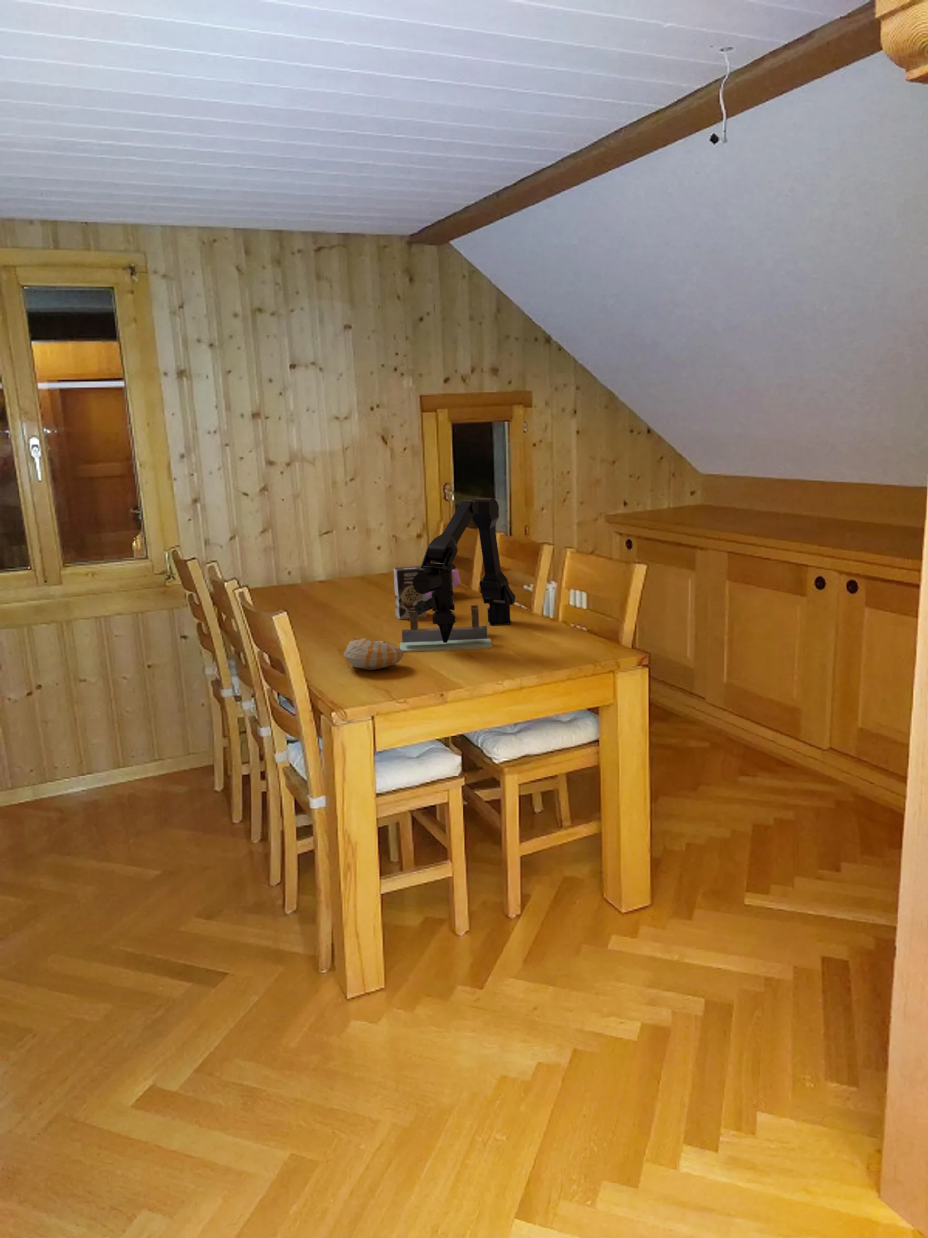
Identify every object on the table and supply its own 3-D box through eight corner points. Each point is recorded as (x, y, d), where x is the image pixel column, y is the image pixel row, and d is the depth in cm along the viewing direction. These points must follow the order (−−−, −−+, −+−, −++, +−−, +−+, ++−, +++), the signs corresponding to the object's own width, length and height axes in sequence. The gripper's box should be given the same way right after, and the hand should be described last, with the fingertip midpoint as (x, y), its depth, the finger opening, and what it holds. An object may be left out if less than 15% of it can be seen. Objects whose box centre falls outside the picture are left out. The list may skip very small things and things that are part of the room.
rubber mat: (490, 640, 270) (490, 638, 270) (491, 648, 262) (491, 646, 261) (400, 644, 270) (400, 642, 270) (398, 652, 261) (398, 650, 261)
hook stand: (481, 631, 280) (480, 603, 278) (483, 638, 273) (481, 609, 271) (408, 634, 280) (407, 607, 278) (407, 641, 272) (406, 613, 270)
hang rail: (486, 636, 267) (486, 625, 266) (487, 638, 264) (487, 628, 263) (402, 639, 267) (402, 629, 266) (402, 642, 264) (401, 632, 263)
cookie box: (399, 620, 299) (396, 570, 296) (395, 615, 305) (392, 567, 302) (427, 617, 302) (424, 568, 298) (422, 613, 308) (420, 564, 304)
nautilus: (333, 661, 257) (386, 657, 262) (353, 677, 237) (409, 671, 242) (332, 633, 256) (385, 629, 261) (351, 646, 236) (408, 641, 241)
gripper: (414, 582, 271) (417, 634, 274) (412, 595, 253) (415, 651, 256) (453, 580, 271) (455, 632, 275) (454, 593, 253) (456, 649, 256)
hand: (445, 641), depth 265 cm, fingers closed on hang rail, 3 cm apart
